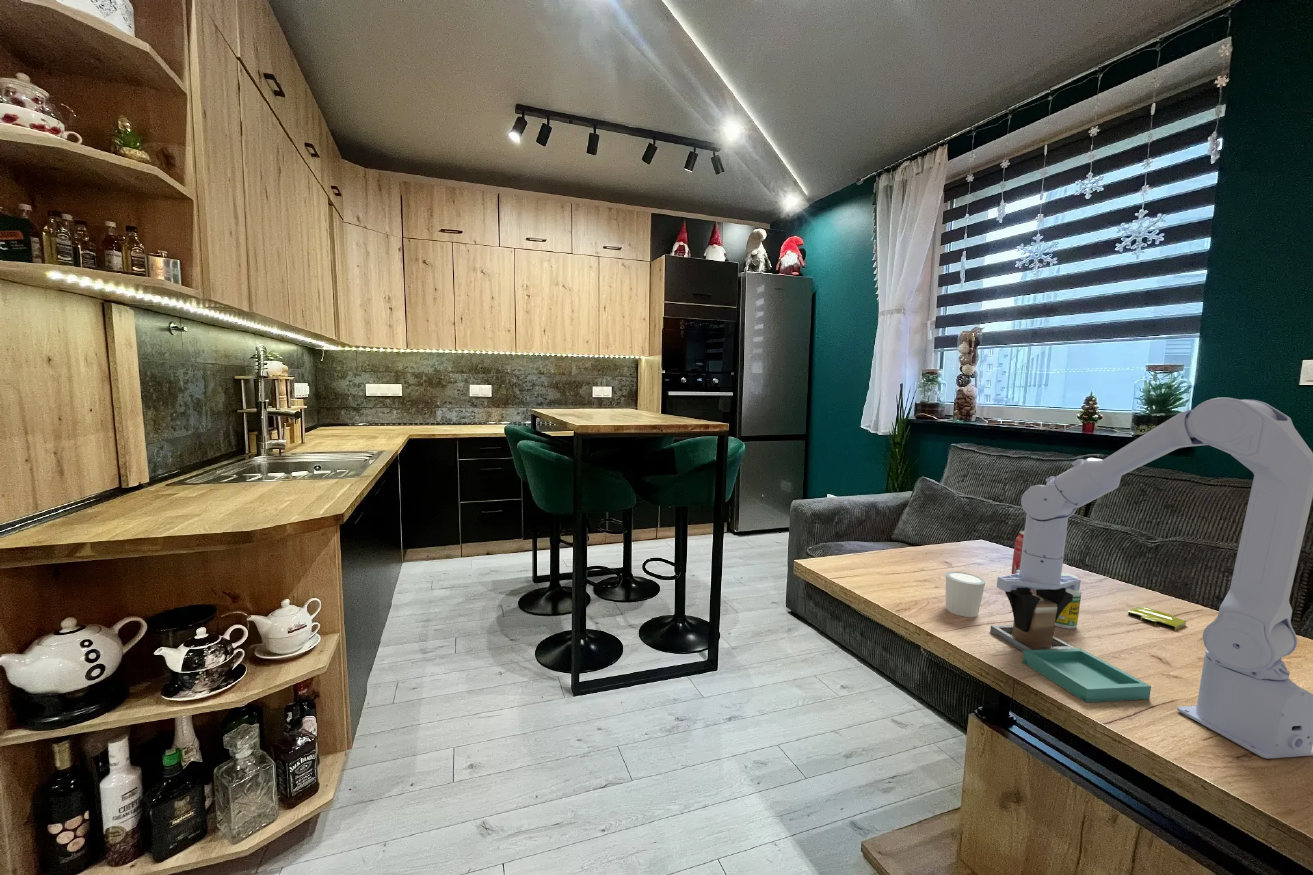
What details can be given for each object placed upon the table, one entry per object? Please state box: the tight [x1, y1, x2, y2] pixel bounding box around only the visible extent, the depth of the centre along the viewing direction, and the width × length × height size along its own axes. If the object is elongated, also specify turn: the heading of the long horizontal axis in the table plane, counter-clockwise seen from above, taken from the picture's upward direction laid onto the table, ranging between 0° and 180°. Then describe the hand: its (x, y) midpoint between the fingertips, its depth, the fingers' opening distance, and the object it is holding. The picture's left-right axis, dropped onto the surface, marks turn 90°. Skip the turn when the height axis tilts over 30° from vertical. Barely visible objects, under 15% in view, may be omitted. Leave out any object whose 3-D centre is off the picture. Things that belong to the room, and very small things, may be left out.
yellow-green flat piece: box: [1122, 606, 1193, 635], centre depth 101 cm, size 10×9×3 cm
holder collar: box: [989, 624, 1078, 653], centre depth 89 cm, size 9×9×1 cm
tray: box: [1022, 648, 1152, 703], centre depth 78 cm, size 11×11×2 cm
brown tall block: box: [1011, 594, 1057, 647], centre depth 88 cm, size 4×4×8 cm
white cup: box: [945, 571, 986, 618], centre depth 101 cm, size 7×7×7 cm
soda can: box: [1011, 530, 1024, 575], centre depth 117 cm, size 7×7×12 cm
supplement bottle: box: [1054, 571, 1082, 630], centre depth 97 cm, size 5×5×10 cm
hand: (1033, 628), depth 88 cm, fingers closed on brown tall block, 4 cm apart
